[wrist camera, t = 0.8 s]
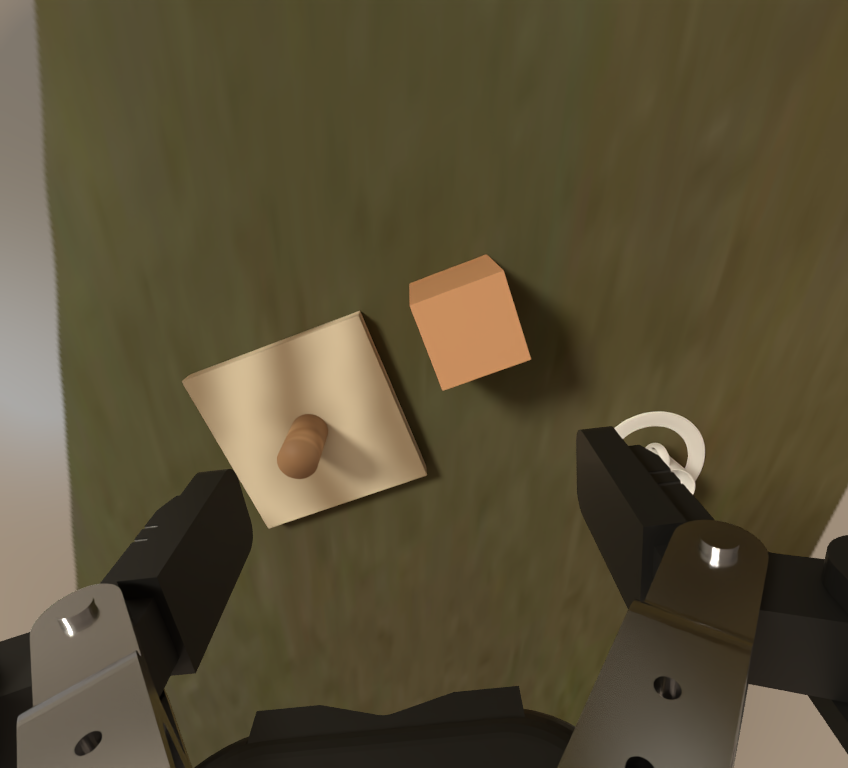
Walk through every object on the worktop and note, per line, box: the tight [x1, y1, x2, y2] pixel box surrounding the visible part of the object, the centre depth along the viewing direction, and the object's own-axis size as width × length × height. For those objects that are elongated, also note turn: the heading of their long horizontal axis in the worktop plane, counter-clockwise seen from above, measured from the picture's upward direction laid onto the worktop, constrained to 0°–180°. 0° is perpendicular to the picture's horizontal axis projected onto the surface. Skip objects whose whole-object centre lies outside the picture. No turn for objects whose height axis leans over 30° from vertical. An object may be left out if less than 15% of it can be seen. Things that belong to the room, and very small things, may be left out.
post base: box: [182, 311, 427, 528], centre depth 33 cm, size 12×12×5 cm
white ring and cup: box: [614, 411, 705, 494], centre depth 36 cm, size 9×8×4 cm
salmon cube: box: [409, 254, 531, 390], centre depth 30 cm, size 5×5×6 cm
